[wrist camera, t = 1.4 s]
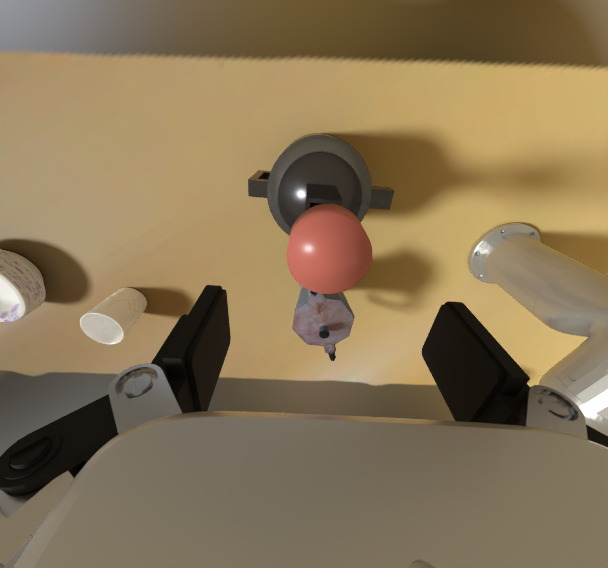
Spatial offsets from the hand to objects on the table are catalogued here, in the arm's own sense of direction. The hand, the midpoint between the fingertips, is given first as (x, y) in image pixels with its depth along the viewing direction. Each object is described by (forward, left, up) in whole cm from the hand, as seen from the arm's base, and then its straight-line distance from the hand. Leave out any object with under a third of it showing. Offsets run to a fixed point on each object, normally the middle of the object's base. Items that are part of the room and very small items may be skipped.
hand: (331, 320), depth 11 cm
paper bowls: (+60, +24, -39) cm, 76 cm away
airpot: (0, 0, -39) cm, 39 cm away
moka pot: (-3, +19, -39) cm, 43 cm away
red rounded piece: (0, 0, -17) cm, 17 cm away
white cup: (+38, +29, -39) cm, 62 cm away
